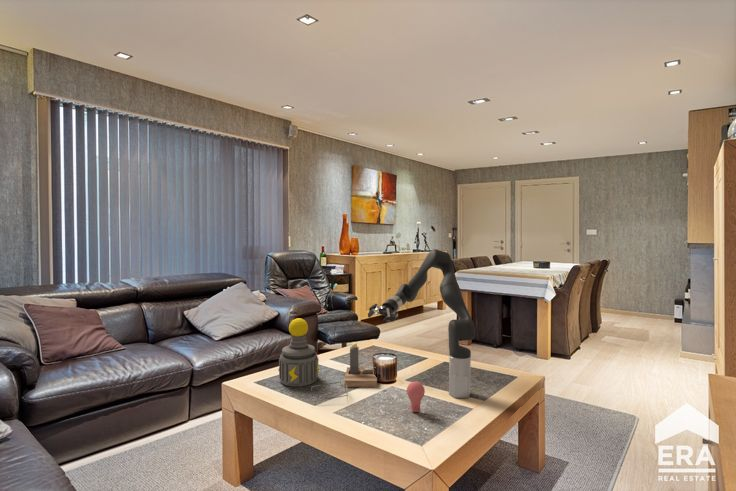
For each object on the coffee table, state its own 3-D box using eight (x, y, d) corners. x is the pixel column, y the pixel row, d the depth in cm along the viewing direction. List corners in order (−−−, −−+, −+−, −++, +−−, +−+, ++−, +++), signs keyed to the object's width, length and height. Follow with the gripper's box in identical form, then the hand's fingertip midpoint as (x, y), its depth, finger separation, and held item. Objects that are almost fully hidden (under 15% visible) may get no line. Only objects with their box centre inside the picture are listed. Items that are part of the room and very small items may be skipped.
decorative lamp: (322, 373, 215) (321, 314, 213) (313, 388, 196) (313, 323, 194) (285, 372, 217) (284, 313, 215) (273, 386, 198) (272, 322, 196)
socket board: (376, 387, 198) (376, 379, 197) (344, 386, 198) (344, 379, 198) (376, 373, 215) (376, 366, 215) (347, 373, 216) (347, 366, 216)
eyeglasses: (350, 402, 182) (350, 390, 182) (315, 405, 178) (315, 394, 178) (343, 388, 197) (343, 377, 197) (310, 391, 194) (310, 380, 194)
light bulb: (412, 406, 177) (413, 377, 177) (427, 411, 173) (428, 381, 172) (403, 412, 172) (403, 382, 171) (418, 417, 167) (418, 386, 167)
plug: (358, 379, 207) (358, 345, 206) (350, 379, 207) (350, 344, 206) (358, 376, 211) (358, 342, 210) (350, 376, 211) (350, 342, 210)
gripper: (381, 294, 227) (364, 307, 215) (405, 303, 220) (388, 317, 208) (380, 306, 230) (363, 320, 218) (403, 315, 223) (387, 330, 211)
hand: (375, 318), depth 213 cm, fingers open, 8 cm apart
